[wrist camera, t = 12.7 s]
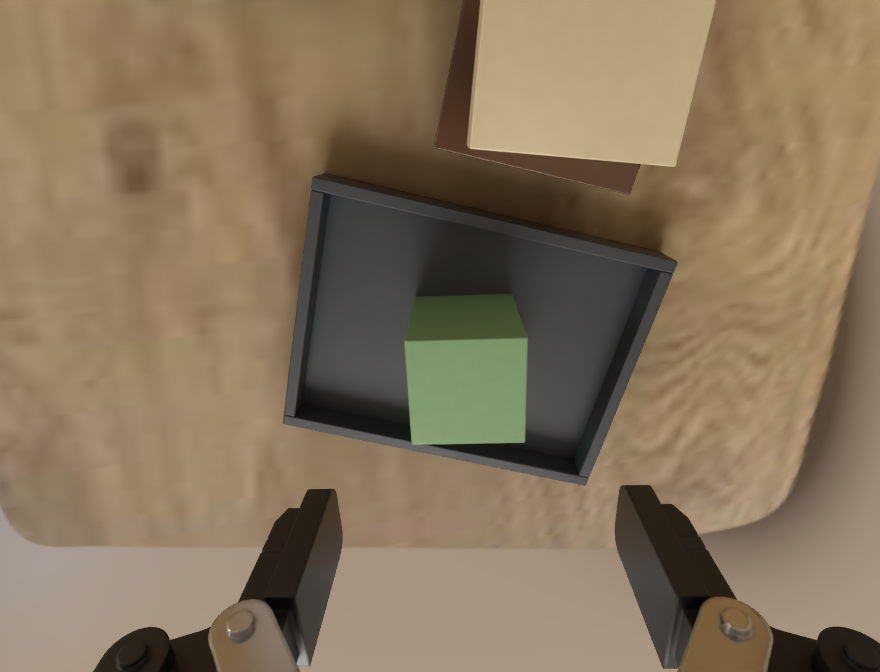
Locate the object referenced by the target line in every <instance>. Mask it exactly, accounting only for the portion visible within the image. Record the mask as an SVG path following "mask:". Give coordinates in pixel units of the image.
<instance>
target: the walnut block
mask: <svg viewBox="0 0 880 672" xmlns="http://www.w3.org/2000/svg"><path fill="white" fill-rule="evenodd" d="M479 9H480V0H464V2H463V7H462V12H461V17H460V22H459V26H458V31H457V36H456V41H455V46H454V51H453V56H452V61H451V65H450V70H449V75H448V80H447V85H446V90H445V95H444V100H443V104H442V109H441V114H440V119H439V124H438V129H437V134H436V139H435V143H434V148H436V149H440V150H444V151H449V152H453V153H457V154H461V155H465V156H469V157H474V158H478V159H482V160H486V161H490V162H494V163H499V164H503V165H507V166H511V167H515V168H519V169H524V170H528V171H532V172H536V173H540V174H544V175H549V176H553V177H557V178H561V179H565V180H569V181H573V182H578V183H582V184H586V185H590V186H594V187H598V188H603V189H607V190H611V191H615V192H619V193H623V194H628V195H629V194H630V193H631V190H632V187H633V184H634V181H635V179H636V176H637V173H638V170H639V167H640V165H641V164H637V163H625V162H614V161H602V160H591V159H579V158H568V157H557V156H545V155H534V154H522V153H511V152H499V151H488V150H477V149H470V148H469V147H468V146H467V136H468V126H469V115H470V104H471V94H472V83H473V73H474V62H475V52H476V41H477V30H478V20H479Z"/></svg>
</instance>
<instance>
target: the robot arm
mask: <svg viewBox="0 0 880 672" xmlns="http://www.w3.org/2000/svg"><path fill="white" fill-rule="evenodd" d="M615 540H616V546H617V550H618V553H619V556H620V558H621V561H622V563H623V566H624V569H625V571H626V573H627V576H628V579H629V582H630V584H631V586H632V589H633V592H634V595H635V597H636V600H637V602H638V605H639V608H640V610H641V613H642V615H643V618H644V621H645V623H646V626H647V628H648V631H649V634H650V636H651V639H652V641H653V644H654V647H655V649H656V651H657V654H658V657H659V660H660V662H661V665H662V667H663V668H664V669H667V668H669V669H675V668H676V669H677V668H678V672H880V643H878V642H877V641H875V640H874V639H872V638H870V637H869V636H867V635H865V634H863V633H860V632H858V631H855V630H852V629H849V628H845V627H829V628H826V629H824V630H823V631H822V632H821V633H820V634H819V636H818V639H817V640H814V639H810V638H806V637H803V636H799V635H796V634H792V633H788V632H784V631H781V630H778V629H775V628H773V627H771V626H769V625H768V623H767V622H766V621H765V619H764V618H763V617H762V616H761V615H760V614H759V613H758V612H757V611H755V610H754V609H753V608H751V607H750V606H748V605H746V604H745V603H743V602H741V601H738V600H737V599H736V597H735V595H734V594H733V592H732V590H731V589H730V587H729V585H728V584H727V582H726V581H725V579H724V577H723V575H722V574H721V572H720V570H719V569H718V567H717V565H716V564H715V562H714V560H713V559H712V557H711V555H710V554H709V552H708V550H706V549H705V545H704V544H703V542H702V540H701V539H700V537H698V534H697V532H696V530H695V529H694V527H693V525H692V524H691V522H690V520H689V519H688V517H687V516H685V515H684V514H683V513H682V512H681V511H680V510H678V509H677V508H676V507H675V506H674V505H672V504H661V503H660V501H659V499H658V498H657V496H656V494H655V492H654V490H653V489H652V487H651V486H650V485H622V486H621V487H620V490H619V497H618V505H617V514H616V522H615ZM341 549H342V526H341V519H340V513H339V506H338V500H337V494H336V491H335V489H309V490H307V492H306V494H305V496H304V499H303V501H302V504H301V506H300V508H288V509H287V510H286V511H285V512H284V513H283V514H282V515H281V516H280V518H279V519H278V520H277V521H276V522H275V523H274V525H273V528H272V530H271V532H270V534H269V536H268V540H267V541H266V543H265V545H264V547H263V549H262V553H261V554H260V556H259V558H258V560H257V562H256V565H255V567H254V569H253V571H252V573H251V576H250V578H249V580H248V582H247V584H246V586H245V588H244V591H243V593H242V595H241V597H240V599H239V601H238V603H236V604H233V605H232V606H230V607H228V608H227V609H226V610H224V611H223V612H222V613H221V614H220V615H219V616H218V617H217V618H216V619H215V621H214V623H213V624H212V626H211V627H209V628H207V629H205V630H202V631H199V632H195V633H192V634H189V635H185V636H182V637H179V638H176V639H172V640H169V637H168V635H167V633H166V632H165V631H164V630H162V629H160V628H156V627H147V628H143V629H138V630H136V631H133V632H131V633H130V634H127V635H126V636H124V637H122V638H121V639H120V640H118V641H117V642H116V643H114V644H113V645H112V646H111V647H110V648H109V649H108V650H107V652H106V653H105V654H104V655H103V657H102V658H101V660H100V662H99V663H98V665H97V667H96V668H95V670H94V671H93V672H300V671H299V669H298V667H310V665H311V661H312V657H313V654H314V650H315V646H316V643H317V639H318V635H319V631H320V628H321V624H322V621H323V617H324V613H325V610H326V606H327V602H328V598H329V595H330V591H331V587H332V584H333V580H334V576H335V573H336V569H337V565H338V561H339V558H340V554H341Z"/></svg>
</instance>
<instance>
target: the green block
mask: <svg viewBox="0 0 880 672" xmlns="http://www.w3.org/2000/svg"><path fill="white" fill-rule="evenodd" d="M404 346H405V360H406V373H407V387H408V401H409V414H410V428H411V441H412V445H425V444H479V443H524V442H525V435H526V399H527V362H528V337H527V334H526V331H525V328H524V325H523V323H522V320H521V317H520V314H519V312H518V309H517V306H516V303H515V301H514V298H513V295H512V294H488V295H456V296H423V297H415V300H414V304H413V308H412V312H411V316H410V320H409V324H408V328H407V332H406V336H405V340H404Z"/></svg>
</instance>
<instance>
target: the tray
mask: <svg viewBox="0 0 880 672" xmlns="http://www.w3.org/2000/svg"><path fill="white" fill-rule="evenodd" d="M311 189H312V190H311V195H310V203H309V211H308V220H307V228H306V236H305V244H304V253H303V261H302V269H301V277H300V286H299V294H298V302H297V310H296V319H295V327H294V335H293V343H292V352H291V360H290V368H289V376H288V385H287V393H286V401H285V410H284V418H283V424H286V425H291V426H296V427H301V428H306V429H311V430H315V431H320V432H325V433H330V434H335V435H340V436H345V437H350V438H355V439H359V440H364V441H369V442H374V443H379V444H384V445H389V446H394V447H399V448H403V449H408V450H413V451H418V452H423V453H428V454H433V455H438V456H442V457H447V458H452V459H457V460H462V461H467V462H472V463H477V464H482V465H486V466H491V467H496V468H501V469H506V470H511V471H516V472H521V473H526V474H530V475H535V476H540V477H545V478H550V479H555V480H560V481H565V482H570V483H574V484H579V485H584V486H585V485H586V483H587V481H588V477H589V476H590V473H591V471H592V469H593V466H594V464H595V461H596V459H597V457H598V454H599V452H600V449H601V447H602V444H603V442H604V440H605V437H606V435H607V432H608V430H609V428H610V425H611V423H612V420H613V418H614V415H615V413H616V411H617V408H618V406H619V403H620V401H621V398H622V396H623V394H624V391H625V389H626V386H627V384H628V382H629V379H630V377H631V374H632V372H633V369H634V367H635V365H636V362H637V360H638V357H639V355H640V353H641V350H642V348H643V345H644V343H645V340H646V338H647V336H648V333H649V331H650V328H651V326H652V324H653V321H654V319H655V316H656V314H657V311H658V309H659V307H660V304H661V302H662V299H663V297H664V295H665V292H666V290H667V287H668V285H669V282H670V280H671V278H672V275H673V274H672V273H673V272H674V270H675V268H676V265H677V261H676V260H674V259H672V258H670V257H668V256H667V255H665V254H663V253H661V252H658V251H654V250H650V249H646V248H641V247H637V246H633V245H629V244H624V243H620V242H616V241H612V240H607V239H603V238H599V237H594V236H590V235H586V234H582V233H577V232H573V231H569V230H565V229H560V228H556V227H552V226H547V225H543V224H539V223H535V222H530V221H526V220H522V219H518V218H513V217H509V216H505V215H501V214H496V213H492V212H488V211H483V210H479V209H475V208H471V207H466V206H462V205H458V204H454V203H449V202H445V201H441V200H437V199H432V198H428V197H424V196H419V195H415V194H411V193H407V192H402V191H398V190H394V189H390V188H385V187H381V186H377V185H373V184H368V183H364V182H360V181H355V180H351V179H347V178H343V177H338V176H334V175H330V174H326V173H324V174H321V175H317V176H314V177H313V178H312V186H311ZM488 294H512V295H513V298H514V301H515V303H516V306H517V309H518V312H519V314H520V317H521V320H522V323H523V325H524V328H525V331H526V334H527V337H528V362H527V399H526V435H525V442H524V443H479V444H425V445H412V441H411V428H410V414H409V401H408V387H407V373H406V360H405V346H404V340H405V336H406V332H407V328H408V324H409V320H410V316H411V312H412V308H413V304H414V300H415V297H423V296H456V295H488Z"/></svg>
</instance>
